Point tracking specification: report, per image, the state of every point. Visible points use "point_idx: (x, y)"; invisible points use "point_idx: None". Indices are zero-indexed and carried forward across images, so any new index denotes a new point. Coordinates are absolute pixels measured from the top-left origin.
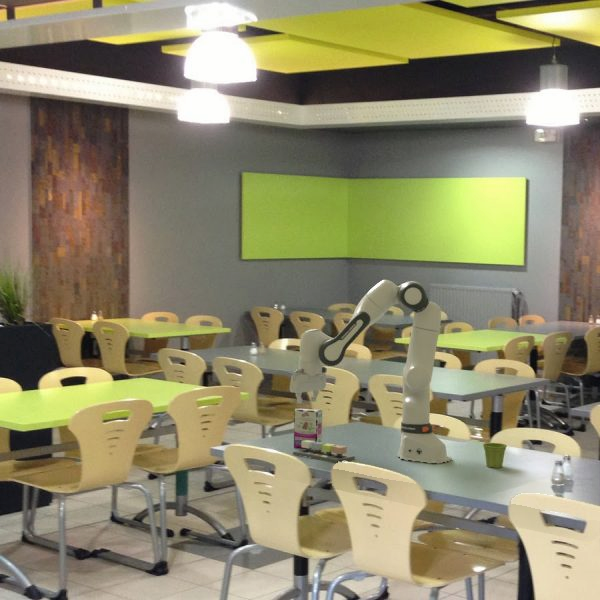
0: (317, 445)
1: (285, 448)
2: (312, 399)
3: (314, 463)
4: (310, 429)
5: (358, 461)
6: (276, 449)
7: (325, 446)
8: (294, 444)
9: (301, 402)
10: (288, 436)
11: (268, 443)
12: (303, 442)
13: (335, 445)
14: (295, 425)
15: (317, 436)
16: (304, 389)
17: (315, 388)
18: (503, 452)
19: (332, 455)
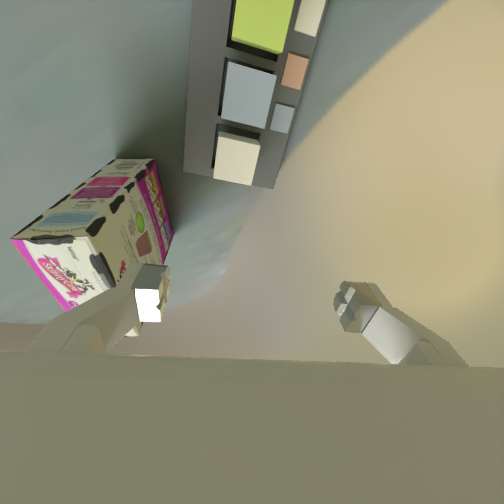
0: (272, 88)
1: (201, 245)
2: (162, 291)
3: (397, 20)
4: (140, 216)
5: None
6: (229, 255)
7: (288, 22)
8: (171, 239)
9: (362, 283)
10: (62, 310)
11: (176, 299)
12: (253, 174)
13: None
14: None
15: (134, 174)
16: (471, 402)
17: (156, 394)
18: None
19: (230, 11)
